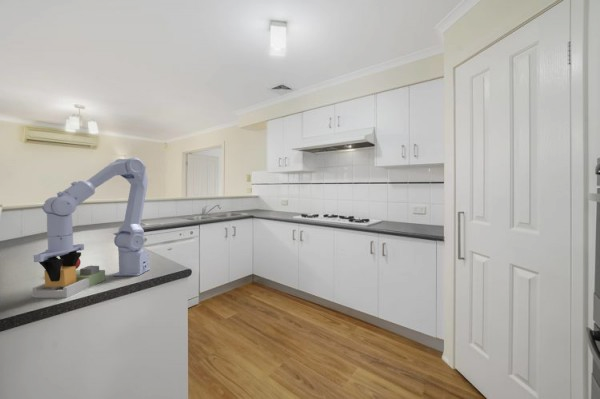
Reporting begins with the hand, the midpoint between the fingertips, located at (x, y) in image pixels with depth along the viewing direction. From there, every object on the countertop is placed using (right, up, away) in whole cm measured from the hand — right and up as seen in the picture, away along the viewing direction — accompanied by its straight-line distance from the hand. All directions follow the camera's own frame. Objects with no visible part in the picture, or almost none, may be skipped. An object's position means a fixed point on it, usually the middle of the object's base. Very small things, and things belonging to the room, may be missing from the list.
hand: (62, 278), depth 79 cm
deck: (0, -4, +4) cm, 6 cm away
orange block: (0, -2, 0) cm, 2 cm away
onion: (-14, -4, +19) cm, 24 cm away
